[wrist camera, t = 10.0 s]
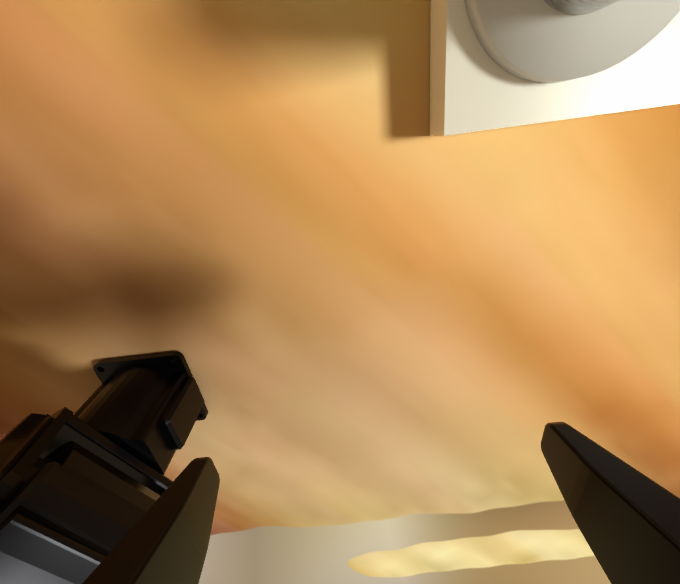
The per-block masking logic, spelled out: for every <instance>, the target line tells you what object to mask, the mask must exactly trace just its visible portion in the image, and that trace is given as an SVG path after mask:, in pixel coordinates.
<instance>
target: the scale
mask: <svg viewBox="0 0 680 584" xmlns="http://www.w3.org/2000/svg"><path fill="white" fill-rule="evenodd" d="M674 104H680V0H620V1H618V2H616V3H614V4H612V5H609V6H607V7H605V8H603V9H601V10H598V11H596V12H593V13H589V14H585V15H568V14H564V13H561V12H559V11H557V10H555V9H553V8H552V7H550V6H549V5H548V4H547V3H546V2H545V1H544V0H431V18H430V136H447V135H454V134H461V133H469V132H476V131H483V130H491V129H498V128H505V127H513V126H520V125H527V124H535V123H542V122H549V121H557V120H564V119H571V118H578V117H586V116H593V115H600V114H608V113H615V112H622V111H630V110H637V109H644V108H652V107H659V106H666V105H674Z"/></svg>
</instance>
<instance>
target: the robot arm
mask: <svg viewBox="0 0 680 584" xmlns="http://www.w3.org/2000/svg"><path fill="white" fill-rule="evenodd" d="M175 358H176V359H178V360H176V359H175ZM102 367H103V368H102ZM93 368H94V371H95V372H96V374H97V376H98V377H99V379H100V381H101V382H102V385H101V386H100V387H99V388H98V389H97V390H96V391H95V392H94V393H93V394H92V395H91V397H90V398H89V399H88V400H87V401H86V402H85V403H84V404H83V405H82V406H81V407H80V408H79V410H78V411H77V412H76V413H75V414H74V415H73V412H72V411H71V410H69V409H68V408H66V407H64V408H62V409H61V410H59V411H58V412H56V413H55V414H53V415H52V416H50V415H48V414H47V415H42V414H33V413H31V414H30V415H29V416H27V417H26V418H24V419H23V420H22V421H21V422H20V423H19V424H18V425H17V426H16V427H15V428H13V429H12V430H11V431H10V432H9V433H8V434H7V435H6V436H5V437H4V438H3V439H2V440H1V441H0V584H198V583H199V579H200V575H201V572H202V568H203V564H204V560H205V557H206V553H207V549H208V544H209V539H210V534H211V528H212V523H213V517H214V511H215V506H216V500H217V495H218V489H219V482H220V479H219V474H218V472H217V470H216V468H215V466H214V463H213V461H212V459H211V458H209V457H202V458H196V459H194V460H193V461H191V462H190V464H189V465H188V466H187V467H186V468H185V469H184V470H183V471H182V472H181V474H180V475H179V476H178V477H177V478H176V479H175V480H174V481H172V480H170V479H169V478H167V477H166V476H164V473H165V471H166V469H167V467H168V465H169V463H170V461H171V459H172V457H173V455H174V453H175V451H176V450H178V449H181V448H182V447H183V446H184V444H185V442H186V440H187V438H188V436H189V434H190V431H191V429H192V427H193V425H194V423H195V421H197V420H204V419H205V418H206V416H207V414H208V410H207V408H206V406H205V403H204V399H203V397H202V395H201V392H200V390H199V388H198V385H197V383H196V381H195V379H194V378H193V376H192V374H191V371H190V369H189V367H188V364H187V362H186V360H185V358H184V356H183V354H181V353H179V352H170V353H161V354H152V355H144V356H135V357H126V358H117V359H109V360H101V361H98V362H97V363H96V364H95V365H94V367H93ZM541 449H542V452H543V455H544V457H545V459H546V461H547V463H548V465H549V468H550V470H551V472H552V474H553V476H554V478H555V480H556V483H557V485H558V487H559V489H560V491H561V493H562V495H563V498H564V500H565V502H566V504H567V506H568V508H569V510H570V512H571V514H572V516H573V518H574V520H575V522H576V523H577V525H578V527H579V529H580V531H581V532H582V534H583V536H584V537H585V539H586V541H587V543H588V544H589V546H590V548H591V549H592V551H593V553H594V555H595V556H596V558H597V560H598V562H599V563H600V565H601V567H602V568H603V570H604V572H605V573H606V575H607V577H608V579H609V580H610V582H611V584H680V498H678V497H677V496H675V495H674V494H672V493H671V492H669V491H668V490H666V489H665V488H663V487H662V486H660V485H659V484H657V483H656V482H654V481H653V480H651V479H650V478H648V477H647V476H645V475H644V474H642V473H640V472H639V471H637V470H636V469H634V468H633V467H631V466H630V465H628V464H627V463H625V462H624V461H622V460H621V459H619V458H618V457H616V456H615V455H613V454H612V453H610V452H609V451H607V450H606V449H604V448H603V447H601V446H600V445H598V444H597V443H595V442H594V441H592V440H591V439H589V438H588V437H586V436H585V435H583V434H582V433H580V432H579V431H577V430H576V429H574V428H573V427H571V426H570V425H568V424H566V423H564V422H553V423H547V424H546V425H545V429H544V433H543V437H542V441H541Z"/></svg>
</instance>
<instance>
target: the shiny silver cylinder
mask: <svg viewBox="0 0 680 584" xmlns="http://www.w3.org/2000/svg"><path fill="white" fill-rule="evenodd" d="M544 1H545V2H546V3H547V4H548V5H549V6H550V7H552V8H553V9H555V10H557V11H559V12H561V13H564V14H568V15H585V14H589V13H593V12H596V11H598V10H601V9H603V8H605V7H607V6H609V5H612V4H614V3H616V2H618V1H620V0H544Z"/></svg>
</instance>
